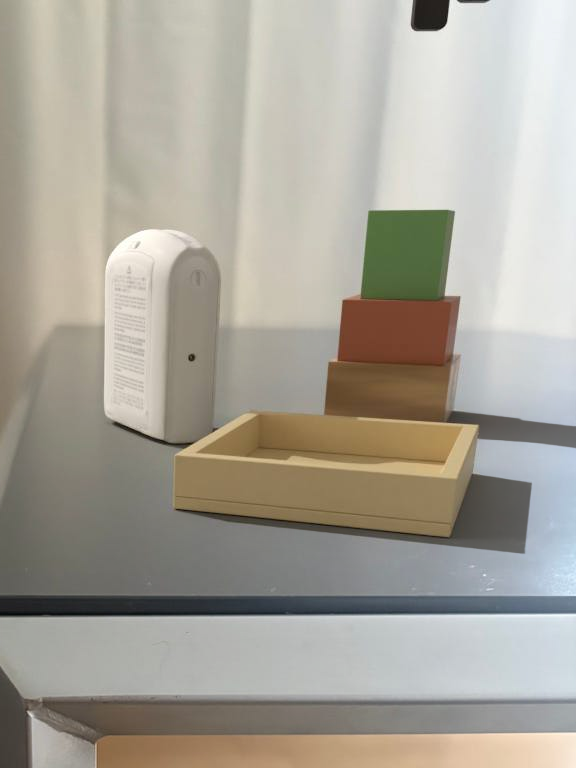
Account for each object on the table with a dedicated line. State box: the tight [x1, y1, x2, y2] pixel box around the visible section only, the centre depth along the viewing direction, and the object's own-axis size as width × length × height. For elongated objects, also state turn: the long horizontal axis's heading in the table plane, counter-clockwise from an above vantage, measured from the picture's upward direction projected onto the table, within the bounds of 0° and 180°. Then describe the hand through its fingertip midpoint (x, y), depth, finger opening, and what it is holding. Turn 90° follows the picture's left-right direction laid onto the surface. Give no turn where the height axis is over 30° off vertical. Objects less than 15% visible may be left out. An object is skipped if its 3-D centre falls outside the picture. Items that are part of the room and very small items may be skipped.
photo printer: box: [103, 228, 222, 444], centre depth 64 cm, size 10×4×12 cm, turn 23°
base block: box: [323, 353, 462, 423], centre depth 71 cm, size 8×8×4 cm
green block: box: [360, 209, 456, 301], centre depth 67 cm, size 5×5×6 cm
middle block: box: [336, 293, 462, 366], centre depth 69 cm, size 7×7×4 cm
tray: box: [172, 409, 480, 538], centre depth 50 cm, size 14×13×3 cm
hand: (449, 17), depth 61 cm, fingers open, 8 cm apart
